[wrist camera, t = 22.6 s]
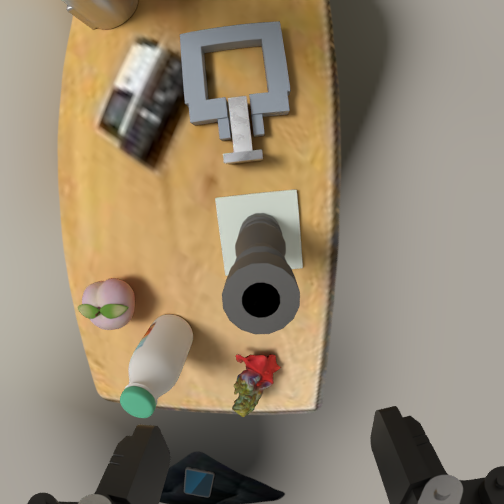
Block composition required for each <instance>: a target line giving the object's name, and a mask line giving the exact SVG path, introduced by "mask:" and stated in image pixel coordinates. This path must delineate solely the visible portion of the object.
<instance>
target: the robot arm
mask: <svg viewBox="0 0 504 504" xmlns="http://www.w3.org/2000/svg"><path fill="white" fill-rule="evenodd" d="M62 1H63V2H64V3H66V4H67V11H68V12H69V13H71V14H72V15H74V16H75V17H76V18H78V19H79V20H80V21H82V22H83V23H85V24H86V25H87V26H89V27H90V28H91V29H95V28H100V29H112V28H115V27H117V26H119V25H121V24H122V23H124V22H125V21H127V20H128V19H129V18H130V17H131V16H132V14H133V13H134V11H135V10H136V8H137V5H138V0H62ZM371 448H372V451H373V454H374V457H375V460H376V463H377V466H378V469H379V472H380V475H381V478H382V481H383V484H384V487H385V490H386V493H387V496H388V499H389V503H390V504H504V466H501V467H497V468H494V469H493V470H491V471H490V472H489V473H488V475H487V476H486V477H485V478H480V479H474V480H465V481H463V480H458V479H457V478H456V477H454V476H451V475H448V474H447V473H446V471H445V470H444V468H443V466H442V464H441V462H440V460H439V458H438V456H437V454H436V452H435V450H434V448H433V446H432V444H431V443H430V442H429V439H428V437H427V435H425V432H424V430H423V428H422V426H421V424H420V423H419V422H418V421H416V420H415V419H414V418H413V417H411V416H407V417H402V415H401V413H400V411H399V410H398V408H397V407H396V406H393V407H389V408H385V409H381V410H377V411H376V412H375V416H374V422H373V427H372V432H371ZM169 465H170V451H169V448H168V447H167V444H166V442H165V440H164V438H163V435H162V434H161V431H160V429H159V427H158V426H151V425H138V426H137V427H136V429H135V431H134V433H133V436H126V437H125V438H124V439H123V440H122V441H121V442H120V443H118V445H117V447H116V449H115V451H114V453H113V456H112V458H111V460H110V464H108V466H107V468H106V471H105V473H104V475H103V477H102V479H101V481H100V484H99V486H98V488H97V490H96V492H95V493H94V494H91V495H88V496H85V497H84V498H82V499H81V500H80V501H79V502H58V501H57V500H56V499H55V498H54V497H53V496H52V495H50V494H48V493H38V494H35V495H34V496H33V497H31V499H30V500H29V502H28V504H159V500H160V497H161V493H162V490H163V486H164V483H165V479H166V475H167V472H168V468H169Z"/></svg>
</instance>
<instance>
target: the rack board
mask: <svg viewBox="0 0 504 504" xmlns="http://www.w3.org/2000/svg"><path fill="white" fill-rule="evenodd" d="M215 200H216V208H217V216H218V224H219V231H220V239H221V246H222V254H223V261H224V268H225V275H228V274H229V271H230V269H231V267H232V266H233V265H234V263H235V260H236V258H237V257H236V253H235V244H236V241H237V238H238V234H239V231H240V228H241V225H242V223H243V221H244V220H245V219H246V218H247V217H248V216H250V215H253V214H255V213H265V214H268V215H271V216H272V217H273V218H274V219H275V220H276V221H277V222H278V224H279V226H280V228H281V231H282V236H283V238H284V240H285V243H286V254H285V256H284V257H285V259H286V261H287V264H288V265H290V267H291V269H298V268H303V263H302V249H301V235H300V223H299V211H298V199H297V190H296V189H295V190H284V191H273V192H263V193H253V194H244V195H235V196H227V197H218V198H215Z"/></svg>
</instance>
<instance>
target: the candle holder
mask: <svg viewBox="0 0 504 504" xmlns="http://www.w3.org/2000/svg"><path fill="white" fill-rule="evenodd" d="M235 253H236V257H237V258H236V260H235V263H234V265H233V266H232V267H231V269H230V271H229V274H228V277H227V279H226V283H225V286H224V289H223V293H222V300H223V309H224V311H225V313H226V315H227V316H228V318H229V320H230V321H231V322H232V323H233V324H235V325H236V326H237V327H238V328H240V329H241V330H244V331H247V332H250V333H253V334H270V333H273V332H275V331H278V330H280V329H283V328H284V327H285V326H286V325H287V324H288V323H289V322H291V321H292V320H293V319H294V317H295V315H296V312H297V310H298V308H299V304H300V291H299V288H298V285H297V282H296V279H295V276H294V274H293V272H292V269H291V267H290V265H288V264H287V261H286V259H285V257H284V256H285V254H286V243H285V240H284V238H283V236H282V231H281V228H280V226H279V224H278V222H277V221H276V220H275V219H274V218H273V217H272V216H271V215H268V214H265V213H255V214H253V215H250V216H248V217H247V218H246V219H245V220H244V221H243V223H242V225H241V228H240V231H239V234H238V238H237V241H236V244H235Z"/></svg>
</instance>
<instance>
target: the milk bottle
mask: <svg viewBox="0 0 504 504" xmlns="http://www.w3.org/2000/svg"><path fill="white" fill-rule="evenodd" d="M192 341H193V332H192V329H191V327H190V325H189V324H188V323H187V322H186V321H185V320H184V319H182V318H181V317H179V316H177V315H172V314H167V315H162V316H160V317H158V318H157V319H156V320H155V321H154V322H153V323H152V325H151V326H150V328H149V329H148V331H147V332H146V334H145V335H144V337H143V338H142V340H141V342H140V343H139V345H138V346H137V348H136V350H135V351H134V353H133V355H132V357H131V360H130V363H129V384H128V385H127V386H126V387H125V389H124V391H123V392H122V394H121V397H120V403H121V405H122V407H123V408H124V409H125V411H127V412H128V413H129V414H131V415H133V416H135V417H139V418H147V417H149V416H150V415H152V413H153V412H154V410H155V407H156V405H157V399H158V398H159V397H160V396H161V395H163V394H165V393H166V392H168V391H169V390H170V389H171V388H172V387H173V386H174V385H175V383H176V382H177V380H178V378H179V376H180V373H181V371H182V369H183V366H184V363H185V361H186V358H187V355H188V353H189V350H190V347H191V345H192Z"/></svg>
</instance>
